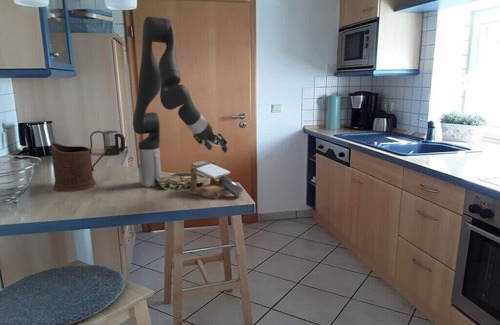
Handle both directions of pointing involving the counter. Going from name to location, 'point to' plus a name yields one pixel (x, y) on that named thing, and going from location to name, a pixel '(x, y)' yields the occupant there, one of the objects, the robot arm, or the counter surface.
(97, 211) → the counter surface
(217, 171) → the trapdoor
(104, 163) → the counter surface
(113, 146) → the milk frother
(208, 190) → the stand
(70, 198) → the counter surface
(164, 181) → the rock
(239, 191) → the cylinder
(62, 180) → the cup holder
